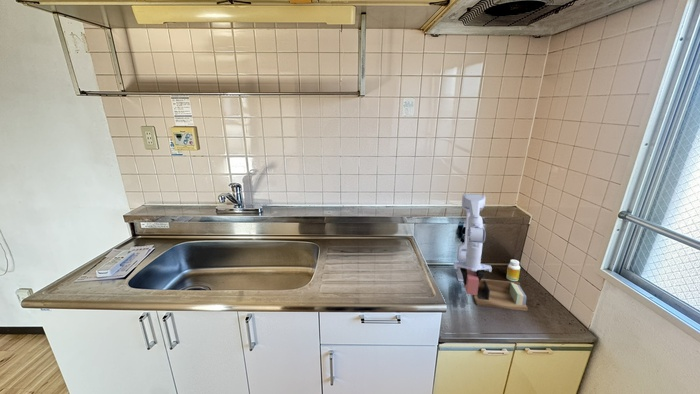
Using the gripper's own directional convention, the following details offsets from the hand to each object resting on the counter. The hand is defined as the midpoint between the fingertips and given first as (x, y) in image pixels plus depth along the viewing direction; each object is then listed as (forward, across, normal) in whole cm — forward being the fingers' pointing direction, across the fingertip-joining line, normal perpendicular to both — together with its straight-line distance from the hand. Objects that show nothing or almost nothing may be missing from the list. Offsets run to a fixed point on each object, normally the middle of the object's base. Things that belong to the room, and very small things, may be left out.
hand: (470, 284), depth 120 cm
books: (+9, +22, +8) cm, 25 cm away
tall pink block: (+2, 0, 0) cm, 2 cm away
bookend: (+9, +7, +8) cm, 14 cm away
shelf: (+10, +14, +7) cm, 19 cm away
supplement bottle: (+11, +26, +27) cm, 39 cm away
